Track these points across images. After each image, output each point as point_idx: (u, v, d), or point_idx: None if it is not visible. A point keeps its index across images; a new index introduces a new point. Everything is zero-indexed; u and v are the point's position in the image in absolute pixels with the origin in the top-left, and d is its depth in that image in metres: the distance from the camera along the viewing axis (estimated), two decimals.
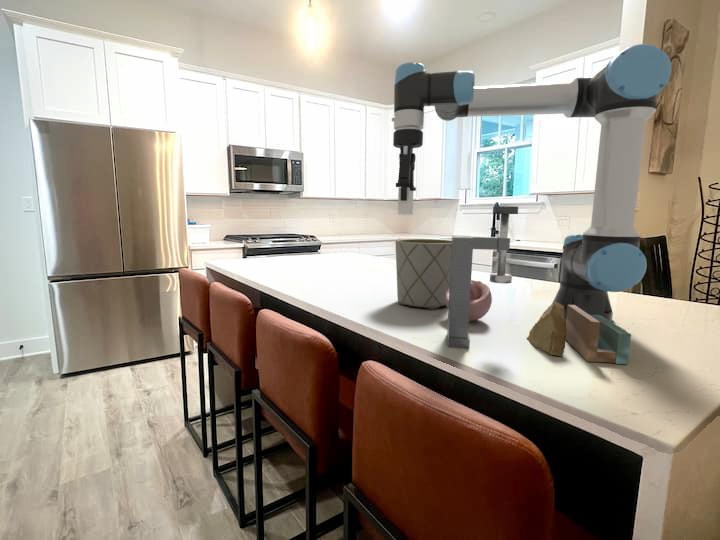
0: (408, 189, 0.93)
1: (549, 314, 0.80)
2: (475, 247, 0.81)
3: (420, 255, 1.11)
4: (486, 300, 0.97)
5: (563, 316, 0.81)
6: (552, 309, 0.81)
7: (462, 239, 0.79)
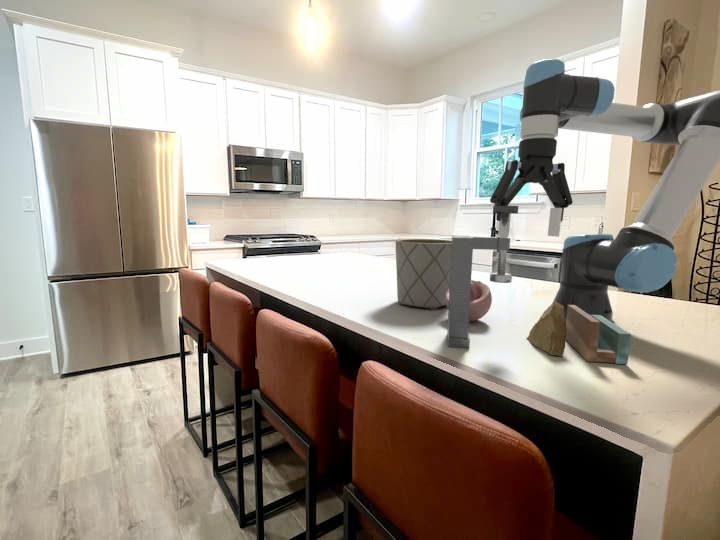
0: None
1: (549, 314, 0.80)
2: (475, 247, 0.81)
3: (420, 255, 1.11)
4: (486, 300, 0.97)
5: (563, 316, 0.81)
6: (552, 309, 0.81)
7: (462, 239, 0.79)
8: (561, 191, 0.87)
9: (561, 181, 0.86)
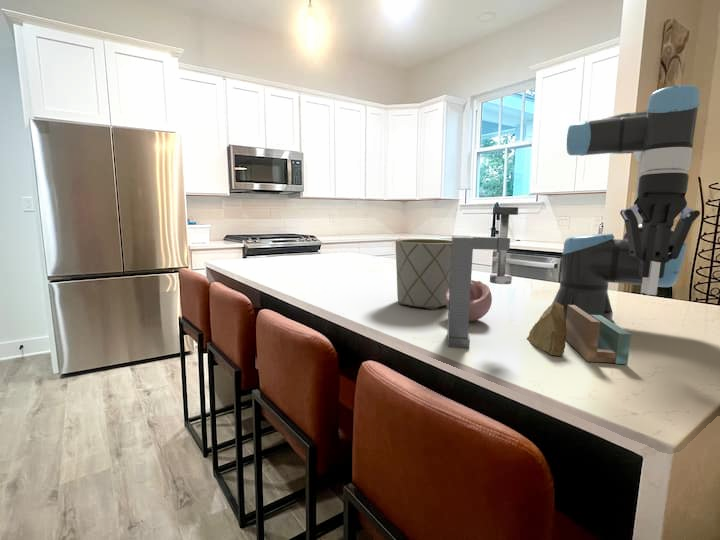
0: (650, 264, 0.75)
1: (549, 314, 0.80)
2: (475, 247, 0.81)
3: (420, 255, 1.11)
4: (486, 300, 0.97)
5: (563, 316, 0.81)
6: (552, 309, 0.81)
7: (462, 239, 0.79)
8: (674, 240, 0.74)
9: (681, 228, 0.73)
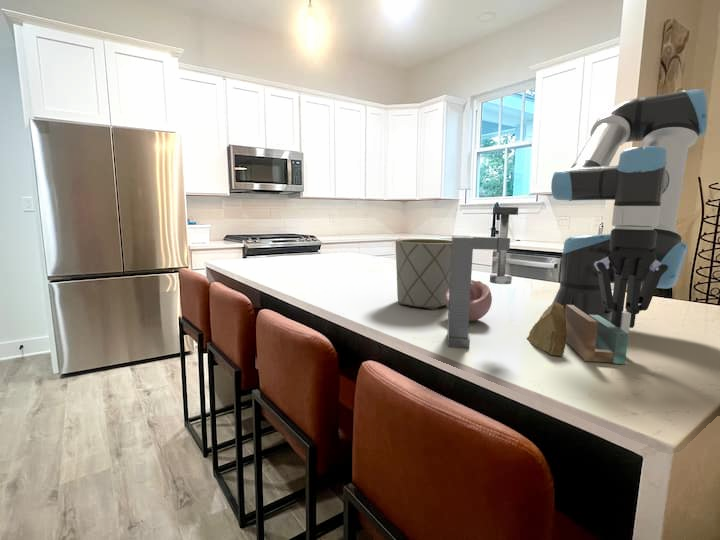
0: (622, 314, 0.78)
1: (549, 314, 0.80)
2: (475, 247, 0.81)
3: (420, 255, 1.11)
4: (486, 300, 0.97)
5: (563, 316, 0.81)
6: (552, 309, 0.81)
7: (462, 239, 0.79)
8: (644, 291, 0.77)
9: (650, 281, 0.76)
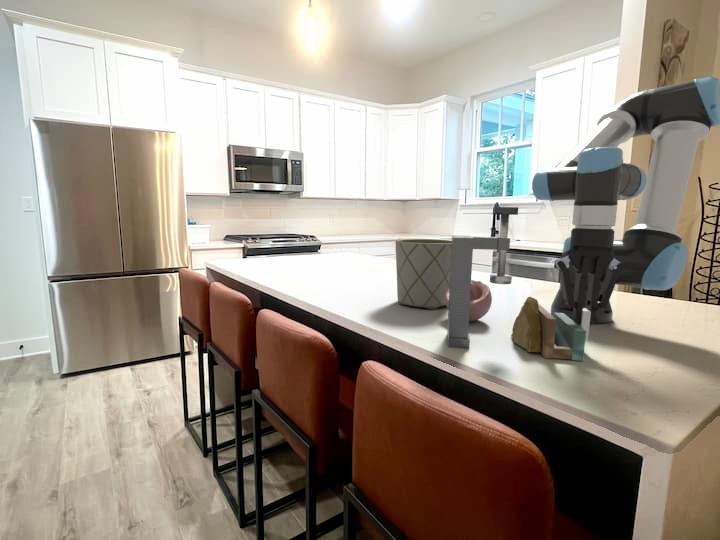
0: (582, 312, 0.79)
1: (522, 312, 0.81)
2: (475, 247, 0.81)
3: (420, 255, 1.11)
4: (486, 300, 0.97)
5: (537, 311, 0.81)
6: (525, 306, 0.81)
7: (462, 239, 0.79)
8: (603, 289, 0.78)
9: (609, 279, 0.77)
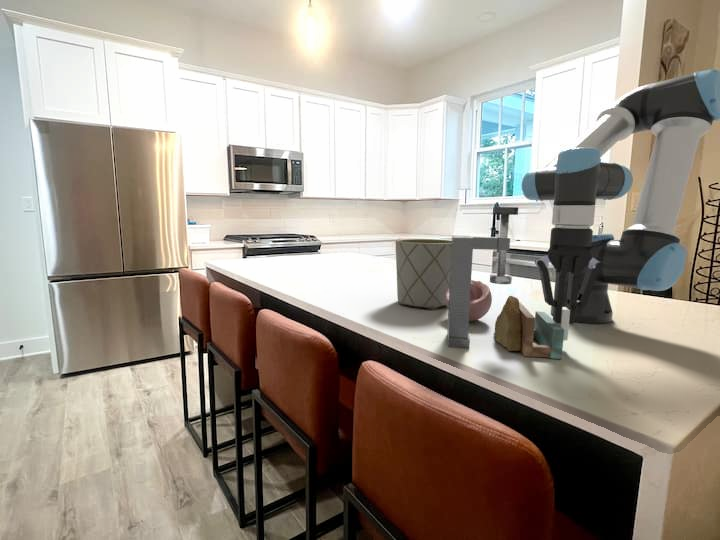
0: (562, 311, 0.80)
1: (503, 310, 0.82)
2: (475, 247, 0.81)
3: (420, 255, 1.11)
4: (486, 300, 0.97)
5: (518, 310, 0.82)
6: (506, 305, 0.82)
7: (462, 239, 0.79)
8: (583, 289, 0.79)
9: (588, 278, 0.78)
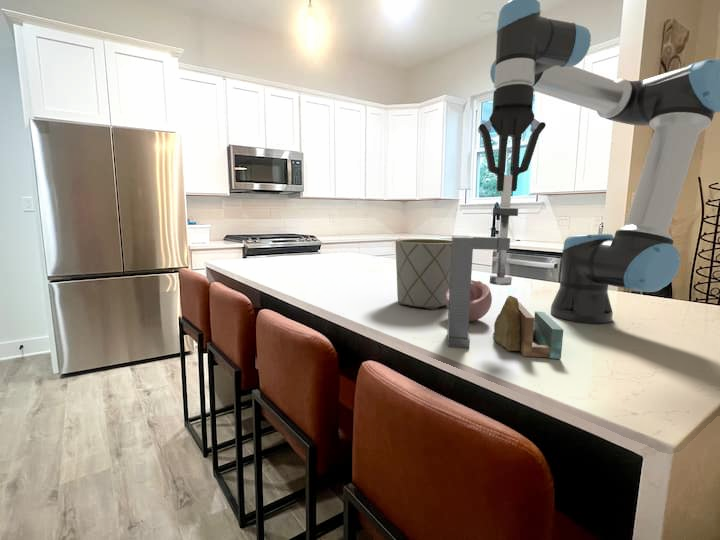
0: (504, 177, 0.78)
1: (502, 310, 0.82)
2: (475, 247, 0.81)
3: (419, 255, 1.11)
4: (486, 300, 0.97)
5: (517, 310, 0.82)
6: (505, 305, 0.82)
7: (462, 239, 0.79)
8: (525, 153, 0.78)
9: (530, 141, 0.77)
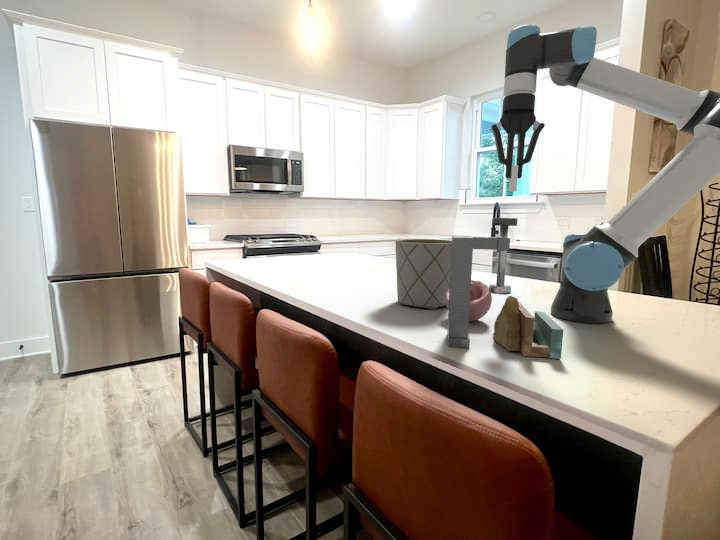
0: (511, 167, 0.98)
1: (502, 310, 0.82)
2: (475, 247, 0.81)
3: (420, 255, 1.11)
4: (486, 300, 0.97)
5: (517, 310, 0.82)
6: (505, 305, 0.82)
7: (462, 239, 0.79)
8: (528, 147, 0.97)
9: (532, 138, 0.96)
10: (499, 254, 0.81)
